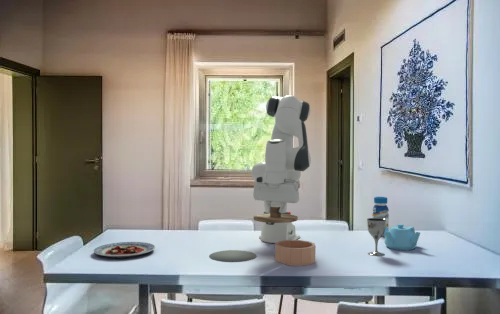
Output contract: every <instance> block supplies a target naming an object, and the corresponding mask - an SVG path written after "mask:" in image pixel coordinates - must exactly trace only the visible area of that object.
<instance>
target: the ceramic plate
mask: <svg viewBox="0 0 500 314" xmlns="http://www.w3.org/2000/svg"><path fill="white" fill-rule="evenodd" d="M155 249H156V245H155V244H154V243H150V242H145V241H122V242H121V241H119V242H113V243H108V244H104V245H99V246H97V247H95V248H94V249H93V253H94V254H96V255H98V256H103V257H109V258H115V257H117V258H120V259H122V258H131V257H133V258H134V257H137V256H140V255H143V254H147V253H150V252H153V251H154V250H155Z"/></svg>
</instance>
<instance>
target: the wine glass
mask: <svg viewBox="0 0 500 314" xmlns="http://www.w3.org/2000/svg"><path fill="white" fill-rule="evenodd" d="M366 225H367V226H366V227H367V231H368V233H369V235H370V236H371V237H372V239H373V240H374V245H375V246H374V247H375V249H374V250H375V251H370V252H367V254H368V255H369V256H372V257H384V256H385V255H386V254H385V253H384V252H380V251H378V243H379V240H380V239H381V237H383V236H382V235H383V234H384V232H385V229H386V219H382V218H373V217H368V218H367V219H366Z"/></svg>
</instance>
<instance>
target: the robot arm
mask: <svg viewBox="0 0 500 314" xmlns="http://www.w3.org/2000/svg"><path fill="white" fill-rule="evenodd" d="M310 106H311V105H310V103H309V102H307V101H304V100H300V99H298V98H297V97H296V96H295V95H289V94H288V95H285V96H278V95H275V96H274V95H273V96H270V97H269V99H268V100H267V102H266V104H265V109H266V114H267V115H268V116H270V117H272V118H274V119H275V123H274V126H273V129H272V133H271V138H270V139H269V140H267V142H266V146H265V152H264V153H265V154H264V156H265V157H264V161H261V162H257V163H254V165H253V166H252V168H251V177H252V179H253V181H254V182H255V184H254V185H253V193H252V194H253V199H254V200H255V201H264V204H263V205H264V206H263V207H264V211H263V214H270V207H273V206H277V207H280V209H278V213H281V214H290V215H292V212H291V211H288V209H287V207H288V206H287V205H288V204H287V203H289V204H297V203H298V202H299V201H300V192H299V182H298V181H300V179H301V175H302V174H301V173H302V172H305V171H307V170H308V168H309V167H310V166H311V159H312V158H311V153H310V151H309V144H308V134H307V127H306V124H305V122H306V121H307V120H308V118H309V117H310V114H311V107H310ZM294 137H296V138H297V140H298V146H296V147H293V141H294ZM258 238H259V239H260V240H261V241H262V242H265V243H269V244H270V243H272V244H273V243H274V244H276V242H279V241H284V240H299V239H300V238H301V235H300V234H297V233H296V226H295V225H294V223H293V222H287V223H267V222H261V231H260V235H259V236H258Z"/></svg>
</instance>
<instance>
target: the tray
mask: <svg viewBox="0 0 500 314" xmlns="http://www.w3.org/2000/svg"><path fill="white" fill-rule="evenodd" d="M208 257H209V259H211V260H213V261H217V262H222V263H241V262H249V261H253V260H255V259H257V257H258V256H257V254H256V253H254V252H252V251H248V250H240V249H239V250H238V249H235V250H234V249H232V250H231V249H229V250H218V251H215V252H211V254H209V256H208Z"/></svg>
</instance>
